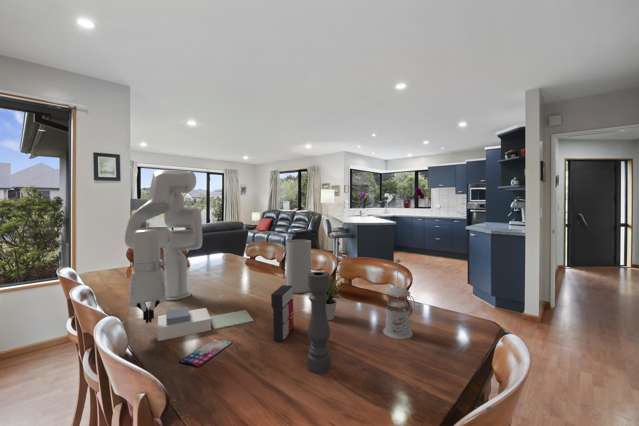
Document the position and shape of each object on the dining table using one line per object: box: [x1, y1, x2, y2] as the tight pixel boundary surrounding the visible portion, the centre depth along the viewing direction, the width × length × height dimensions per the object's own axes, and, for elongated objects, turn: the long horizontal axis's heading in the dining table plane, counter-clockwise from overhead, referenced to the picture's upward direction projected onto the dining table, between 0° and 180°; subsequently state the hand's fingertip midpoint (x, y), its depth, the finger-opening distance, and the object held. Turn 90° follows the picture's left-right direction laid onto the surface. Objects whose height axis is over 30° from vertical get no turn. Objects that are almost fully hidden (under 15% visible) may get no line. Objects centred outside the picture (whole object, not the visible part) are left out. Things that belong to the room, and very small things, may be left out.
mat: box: [209, 309, 255, 330], centre depth 108 cm, size 12×14×1 cm
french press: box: [382, 258, 416, 340], centre depth 96 cm, size 10×12×25 cm
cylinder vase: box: [285, 239, 312, 294], centre depth 144 cm, size 12×12×25 cm
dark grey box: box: [270, 284, 294, 342], centre depth 95 cm, size 11×4×15 cm, turn 168°
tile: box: [165, 306, 190, 325], centre depth 99 cm, size 9×7×2 cm
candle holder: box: [306, 271, 332, 375], centre depth 75 cm, size 6×6×25 cm
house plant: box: [326, 275, 347, 321], centre depth 109 cm, size 14×14×16 cm
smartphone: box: [178, 338, 233, 369], centre depth 84 cm, size 8×1×15 cm
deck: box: [157, 307, 212, 342], centre depth 100 cm, size 12×16×4 cm
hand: (148, 321), depth 95 cm, fingers closed
